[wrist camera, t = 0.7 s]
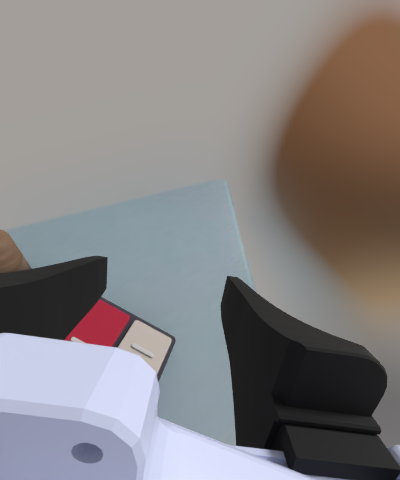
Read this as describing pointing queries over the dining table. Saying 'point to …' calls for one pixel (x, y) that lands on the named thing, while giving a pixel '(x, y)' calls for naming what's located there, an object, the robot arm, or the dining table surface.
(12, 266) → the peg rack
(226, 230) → the dining table surface
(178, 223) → the dining table surface
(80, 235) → the dining table surface
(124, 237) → the dining table surface
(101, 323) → the calculator
